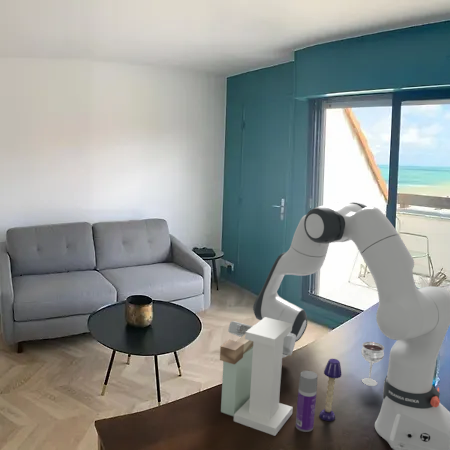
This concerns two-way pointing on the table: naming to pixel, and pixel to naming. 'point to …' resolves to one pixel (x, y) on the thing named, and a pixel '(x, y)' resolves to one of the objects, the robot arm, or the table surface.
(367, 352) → the wineglass
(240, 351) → the tan long block
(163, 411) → the table surface
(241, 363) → the pale green rectangular block
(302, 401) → the container
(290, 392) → the table surface
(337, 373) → the toy lamp
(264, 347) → the white i-beam pillar
